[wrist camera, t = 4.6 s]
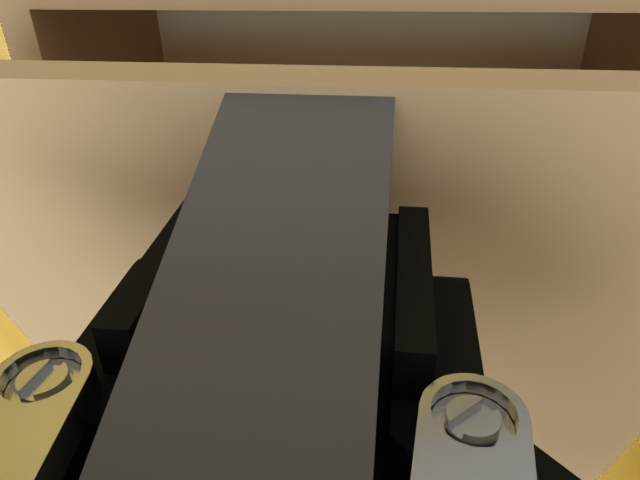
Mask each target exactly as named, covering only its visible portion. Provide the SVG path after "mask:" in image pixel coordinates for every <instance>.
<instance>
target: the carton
mask: <svg viewBox="0 0 640 480" xmlns="http://www.w3.org/2000/svg"><path fill="white" fill-rule="evenodd" d="M0 23H1V26H2V29H3V33H4V36H5V40H6V43H7V46H8V50H9V53H10V57H11V60H49V61H106V62H164V63H221V64H279V65H336V66H394V67H451V68H509V69H566V70H624V71H640V0H0Z"/></svg>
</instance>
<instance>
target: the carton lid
mask: <svg viewBox="0 0 640 480" xmlns="http://www.w3.org/2000/svg"><path fill="white" fill-rule="evenodd" d="M184 199H185V200H184ZM183 200H184V202H183ZM182 202H183V205H182V208H181V210H180V213H179V216H178V218H177V221H176V224H175V226H174V229H173V232H172V234H171V237H170V240H169V242H168V245H167V247H166V250H165V253H164V255H163V258H162V261H161V263H160V266H159V269H158V271H157V274H156V277H155V279H154V282H153V285H152V287H151V290H150V292H149V295H148V298H147V300H146V303H145V306H144V308H143V311H142V314H141V316H140V319H139V322H138V324H137V327H136V329H135V332H134V335H133V337H132V340H131V343H130V345H129V348H128V351H127V353H126V356H125V359H124V361H123V364H122V367H121V369H120V372H119V374H118V377H117V380H116V382H115V385H114V388H113V390H112V393H111V396H110V398H109V401H108V404H107V406H106V409H105V411H104V414H103V417H102V419H101V422H100V425H99V427H98V430H97V433H96V435H95V438H94V441H93V443H92V446H91V449H90V451H89V454H88V456H87V459H86V462H85V464H84V467H83V470H82V472H81V475H80V478H79V480H374V468H375V448H376V429H377V410H378V391H379V371H380V353H381V335H382V319H383V302H384V285H385V269H386V252H387V235H388V219H389V213H396V214H398V213H399V206H408V207H428V210H429V225H430V242H431V258H432V274H433V276H444V277H460V278H468V279H469V283H470V288H471V294H472V301H473V307H474V313H475V320H476V326H477V333H478V339H479V345H480V352H481V358H482V365H483V371H484V376H486V377H490V378H492V379H494V380H496V381H498V382H500V383H502V384H504V385H506V386H507V387H509V388H510V389H511V390H512V391H514V392H515V393H516V394H517V395H518V396H519V397H520V398H521V400H522V401H523V403H524V404H525V405H526V407H527V408H528V412H529V415H530V418H531V422H532V432H533V442H534V444H535V445H536V446H537V447H539V448H540V449H541V450H543V451H544V452H545V453H547V454H548V455H549V456H551V457H552V458H553V459H555V460H556V461H557V462H559V463H560V464H561V465H563V466H564V467H565V468H567V469H568V470H569V471H571V472H572V473H573V474H575V475H576V476H577V477H579V478H580V479H581V480H596V479H597V478H598V477H599V476H600V475H601V474H602V473H603V472H604V471H605V470H606V469H607V468H608V467H609V466H610V465H611V464H612V463H613V462H614V461H615V459H616V458H617V457H618V456H619V455H620V454H621V453H622V452H623V451H624V450H625V449H626V448H627V447H628V446H629V445H630V444H631V443H632V442H633V441H634V440H635V439H636V438H637V437H638V436H639V435H640V71H624V70H566V69H509V68H451V67H394V66H336V65H279V64H221V63H164V62H106V61H49V60H0V308H1V309H2V310H3V311H4V312H5V313H6V314H7V316H8V317H9V318H10V319H11V320H12V321H13V322H14V324H15V325H16V326H17V327H18V328H19V329H20V330H21V332H22V333H23V334H24V335H25V336H26V337H27V338H28V339H29V341H30V342H31V343H32V344H33V345H35V344H39V343H42V342H46V341H55V340H66V341H74V342H76V341H77V339H78V338H79V337H80V335H81V334H82V333H83V331H84V330H85V329H86V327H87V326H88V324H89V323H90V322H91V320H92V319H93V318H94V316H95V315H96V314H97V312H98V311H99V310H100V308H101V307H102V306H103V304H104V303H105V302H106V300H107V299H108V297H109V296H110V295H111V293H112V292H113V291H114V289H115V288H116V287H117V285H118V284H119V283H120V281H121V280H122V279H123V277H124V276H125V275H126V273H127V272H128V270H129V269H130V268H131V266H132V265H133V264H134V263H135V262H136V261H137V260H138V259H141V258H142V256H143V255H144V254H145V252H146V251H147V250H148V248H149V247H150V245H151V244H152V243H153V241H154V240H155V239H156V237H157V236H158V235H159V233H160V232H161V230H162V229H163V228H164V226H165V225H166V224H167V222H168V221H169V219H170V218H171V217H172V215H173V214H174V213H175V211H176V210H177V209H178V207H179V206H180V204H181V203H182Z"/></svg>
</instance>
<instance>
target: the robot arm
mask: <svg viewBox="0 0 640 480" xmlns="http://www.w3.org/2000/svg"><path fill="white" fill-rule="evenodd" d="M184 200H185V199H184ZM184 200H183V202H184ZM183 202H182V203H181V204H180V206H179V207H178V209H177V210H176V211H175V213H174V214H173V215H172V217H171V218H170V219H169V221H168V222H167V224H166V225H165V226H164V228H163V229H162V230H161V232H160V233H159V235H158V236H157V237H156V239H155V240H154V241H153V243H152V244H151V245H150V247H149V248H148V250H147V251H146V252H145V254H144V255H143V256H142V258H141V259H138V260H137V261H136V262H135V263H134V264H133V265H132V266H131V268H130V269H129V270H128V272H127V273H126V275H125V276H124V277H123V279H122V280H121V281H120V283H119V284H118V285H117V287H116V288H115V289H114V291H113V292H112V293H111V295H110V296H109V297H108V299H107V300H106V302H105V303H104V304H103V306H102V307H101V308H100V310H99V311H98V312H97V314H96V315H95V316H94V318H93V319H92V320H91V322H90V323H89V324H88V326H87V327H86V329H85V330H84V331H83V333H82V334H81V335H80V337H79V338H78V339H77V341H76V342H74V341H66V340H55V341H46V342H42V343H39V344H35V345H31V346H29V347H27V348H25V349H22V350H20V351H18V352H16V353H14V354H13V355H11V356H10V357H9V358H7V359H6V360H4V361H3V362H2V363H1V364H0V480H79V478H80V475H81V472H82V470H83V467H84V464H85V462H86V459H87V456H88V454H89V451H90V449H91V446H92V443H93V441H94V438H95V435H96V433H97V430H98V427H99V425H100V422H101V419H102V417H103V414H104V411H105V409H106V406H107V404H108V401H109V398H110V396H111V393H112V390H113V388H114V385H115V382H116V380H117V377H118V374H119V372H120V369H121V367H122V364H123V361H124V359H125V356H126V353H127V351H128V348H129V345H130V343H131V340H132V337H133V335H134V332H135V329H136V327H137V324H138V322H139V319H140V316H141V314H142V311H143V308H144V306H145V303H146V300H147V298H148V295H149V292H150V290H151V287H152V285H153V282H154V279H155V277H156V274H157V271H158V269H159V266H160V263H161V261H162V258H163V255H164V253H165V250H166V247H167V245H168V242H169V240H170V237H171V234H172V232H173V229H174V226H175V224H176V221H177V218H178V216H179V213H180V210H181V208H182V205H183ZM374 480H581V479H580V478H579V477H577V476H576V475H575V474H573V473H572V472H571V471H569V470H568V469H567V468H565V467H564V466H563V465H561V464H560V463H559V462H557V461H556V460H555V459H553V458H552V457H551V456H549V455H548V454H547V453H545V452H544V451H543V450H541V449H540V448H539V447H537V446H536V445H535V444H534V442H533V432H532V422H531V418H530V415H529V412H528V408H527V407H526V405H525V404H524V403H523V401H522V400H521V398H520V397H519V396H518V395H517V394H516V393H515V392H514V391H512V390H511V389H510V388H509V387H507V386H506V385H504V384H502V383H500V382H498V381H496V380H494V379H492V378H490V377H486V376H484V371H483V365H482V358H481V352H480V345H479V339H478V333H477V326H476V320H475V313H474V307H473V301H472V294H471V288H470V283H469V279H468V278H460V277H444V276H433V274H432V258H431V242H430V225H429V210H428V207H408V206H399V213H398V214H396V213H389V219H388V235H387V252H386V269H385V285H384V302H383V319H382V335H381V353H380V371H379V391H378V410H377V429H376V448H375V468H374Z"/></svg>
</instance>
